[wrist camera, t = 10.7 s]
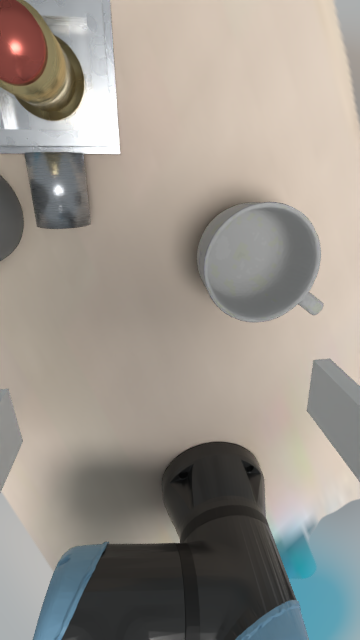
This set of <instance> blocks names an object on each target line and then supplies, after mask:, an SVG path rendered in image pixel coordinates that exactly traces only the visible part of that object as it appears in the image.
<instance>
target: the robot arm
mask: <svg viewBox="0 0 360 640" xmlns="http://www.w3.org/2000/svg"><path fill="white" fill-rule="evenodd" d="M307 412H308V413H309V414H310V416H311V417H312V418H313V420H314V421H315V422H316V424H317V425H318V426H319V428H320V429H321V430H322V432H323V433H324V434H325V436H326V437H327V438H328V440H329V441H330V442H331V444H332V445H333V447H334V448H335V449H336V451H337V452H338V453H339V455H340V456H341V457H342V459H343V460H344V461H345V463H346V464H347V465H348V467H349V468H350V469H351V471H352V472H353V473H354V475H355V476H356V477H357V479H358V480H359V482H360V386H359V385H358V384H357V383H356V382H355V381H354V380H352V379H351V378H350V377H349V376H348V375H347V374H346V373H345V372H344V371H343V370H342V369H341V368H339V367H338V366H337V365H336V364H335V363H334V362H333V361H332V360H331V359H321V360H314V361H313V368H312V375H311V383H310V390H309V398H308V405H307ZM22 442H23V440H22V437H21V433H20V429H19V426H18V422H17V418H16V415H15V411H14V407H13V404H12V400H11V396H10V393H9V389H0V493H1V490H2V488H3V486H4V483H5V481H6V479H7V477H8V474H9V472H10V470H11V467H12V465H13V463H14V460H15V458H16V456H17V454H18V451H19V449H20V447H21V444H22ZM162 492H163V501H164V505H165V507H166V510H167V512H168V514H169V516H170V518H171V520H172V523H173V525H174V527H175V529H176V531H177V534H178V536H179V538H180V543H160V544H109V542H104V543H103V544H97V545H84V546H76V547H73V548H71V549H69V550H68V551H67V552H66V553H65V554H64V555H63V556H62V557H61V559H60V560H59V562H58V564H57V566H56V568H55V571H54V573H53V576H52V579H51V581H50V584H49V587H48V590H47V593H46V596H45V599H44V602H43V606H42V609H41V612H40V616H39V619H38V623H37V626H36V630H35V634H34V637H33V640H309V638H308V635H307V631H306V628H305V624H304V621H303V618H302V615H301V609H300V605H299V602H298V601H297V600H296V598H295V595H294V592H293V590H292V587H291V584H290V582H289V579H288V576H287V573H286V571H285V568H284V565H283V563H282V560H281V557H280V555H279V552H278V549H277V547H276V544H275V541H274V539H273V536H272V533H271V531H270V528H269V525H268V522H267V520H266V513H265V484H264V477H263V474H262V471H261V469H260V466H259V464H258V461H257V460H256V458H255V457H254V455H253V454H252V453H250V452H249V451H248V450H246V449H245V448H243V447H240V446H238V445H235V444H230V443H209V444H204V445H200V446H197V447H194V448H192V449H189V450H187V451H186V452H184V453H182V454H181V455H179V456H178V457H177V458H176V459H174V460H173V461H172V463H171V464H170V465H169V466H168V468H167V469H166V471H165V473H164V476H163V480H162Z"/></svg>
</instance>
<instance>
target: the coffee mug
mask: <svg viewBox="0 0 360 640" xmlns="http://www.w3.org/2000/svg"><path fill="white" fill-rule="evenodd" d="M23 225H24V221H23V213H22V209H21V206H20V203H19V200H18V198H17V196H16V194H15V193H14V191H13V190H12V188H11V187H10V185H9V184H8V183H7V182H6V181H5V180H4V179H3V178H2V177H1V176H0V261H1V260H3V259H4V258H6V257H7V256H8V255H10V254H11V253H12V252H13V251H14V249H15V248H16V247H17V245H18V244H19V242H20V239H21V236H22V232H23Z"/></svg>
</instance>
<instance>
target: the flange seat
mask: <svg viewBox="0 0 360 640" xmlns="http://www.w3.org/2000/svg"><path fill="white" fill-rule="evenodd" d="M24 1H26V2H27V3H29V4H30V5H31V6H33V7H34V8H35V9H36V10H37V11H38V13H39V14H40V15H41V16H42V18H43V19H44V21H45V22H46V24H47V25H48V27H49V28H50V30H51V32H52V33H53V35H55V36H57V37H59V38H60V39H62V40H63V41H64V42H65V43H66V44H67V45H68V46H69V47H70V48H71V49H72V50H73V52H74V53H75V55H76V57H77V58H78V60H79V62H80V64H81V67H82V69H83V73H84V77H85V94H84V98H83V102H82V104H81V106H80V107H79V109H78V110H77V111H76V113H75V114H73V115H72V116H71V117H69V118H67V119H65V120H61V121H48V120H44V119H41V118H39V117H37V116H35V115H33V114H31V113H30V112H28V111H27V110H26V109H25V108H24V107H23V106H22V105H21V104H20V103H19V102H18V100H17V99H16V97H15V96H14V95H13V94H11V93H9V92H8V91H6V90H4V89H2V88H1V87H0V154H25V159H26V165H27V171H28V177H29V182H30V188H31V194H32V200H33V206H34V211H35V217H36V223H37V227H40V228H49V229H63V228H76V227H83V226H87V225H90V224H91V221H90V212H89V202H88V193H87V184H86V174H85V165H84V155H83V154H120V142H119V127H118V112H117V97H116V81H115V66H114V51H113V36H112V21H111V5H110V0H24Z"/></svg>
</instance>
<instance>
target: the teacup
mask: <svg viewBox="0 0 360 640" xmlns="http://www.w3.org/2000/svg"><path fill="white" fill-rule="evenodd" d="M320 259H321V249H320V242H319V238H318V235H317V233H316V231H315V229H314V227H313V225H312V223H311V222H310V221H309V219H308V218H307V217H306V216H305V215H304V214H303V213H301V212H300V211H298V210H297V209H295V208H293V207H291V206H289V205H286V204H282V203H277V202H264V203H244V204H239V205H235V206H233V207H230V208H228V209H226V210H224V211H223V212H221V213H220V214H219V215H217V216H216V217H215V218H214V219H213V220H212V221H211V222H210V223H209V225H208V226H207V227H206V229H205V231H204V232H203V234H202V236H201V239H200V242H199V246H198V251H197V266H198V270H199V274H200V277H201V279H202V281H203V283H204V285H205V287H206V289H207V291H208V293H209V295H210V297H211V299H212V300H213V301H214V303H215V304H216V305H217V307H219V308H220V309H221V310H222V311H223V312H224V313H226V314H227V315H229V316H231V317H234V318H235V319H238V320H241V321H245V322H264V321H269V320H272V319H275V318H278V317H280V316H282V315H284V314H285V313H287V312H288V311H290V310H291V309H292V308H294V307H295V306H296V305H297V304H298V305H300V306H301V307H302V308H304V309H305V310H306V311H308V312H309V313H310V314H312V315H316V314H318V313H319V312H320V311H321V310H322V308H323V303H322V302H321V301H320V300H319V299H317V298H316V297H315V296H314V295H312V294H311V293H309V290H310V289H311V287H312V285H313V283H314V280H315V278H316V276H317V274H318V271H319V266H320Z"/></svg>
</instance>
